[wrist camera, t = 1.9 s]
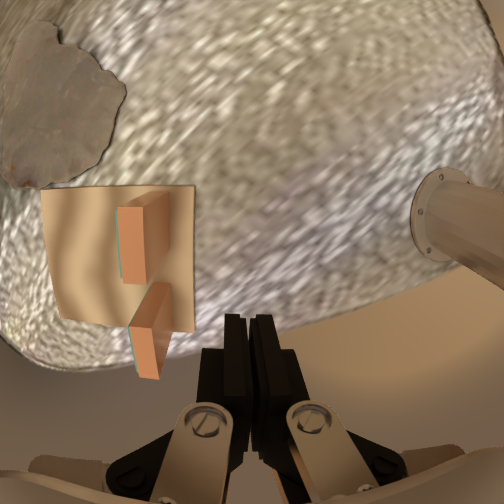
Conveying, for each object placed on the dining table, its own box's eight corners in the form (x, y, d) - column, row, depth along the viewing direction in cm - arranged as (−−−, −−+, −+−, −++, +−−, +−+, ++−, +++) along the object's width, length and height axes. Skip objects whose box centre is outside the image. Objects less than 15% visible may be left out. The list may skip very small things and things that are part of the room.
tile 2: (170, 283, 31) (151, 328, 22) (173, 328, 32) (159, 379, 24) (150, 281, 30) (126, 325, 22) (155, 326, 32) (136, 376, 24)
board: (195, 185, 28) (193, 186, 27) (195, 328, 34) (194, 333, 33) (45, 188, 27) (40, 190, 26) (63, 314, 32) (60, 317, 31)
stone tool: (148, 140, 28) (96, -13, 19) (140, 139, 24) (87, -24, 15) (26, 214, 28) (-12, 67, 19) (11, 221, 25) (-25, 64, 16)
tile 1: (169, 191, 27) (142, 207, 19) (169, 248, 29) (146, 285, 21) (147, 191, 27) (113, 206, 19) (148, 247, 29) (119, 283, 21)
